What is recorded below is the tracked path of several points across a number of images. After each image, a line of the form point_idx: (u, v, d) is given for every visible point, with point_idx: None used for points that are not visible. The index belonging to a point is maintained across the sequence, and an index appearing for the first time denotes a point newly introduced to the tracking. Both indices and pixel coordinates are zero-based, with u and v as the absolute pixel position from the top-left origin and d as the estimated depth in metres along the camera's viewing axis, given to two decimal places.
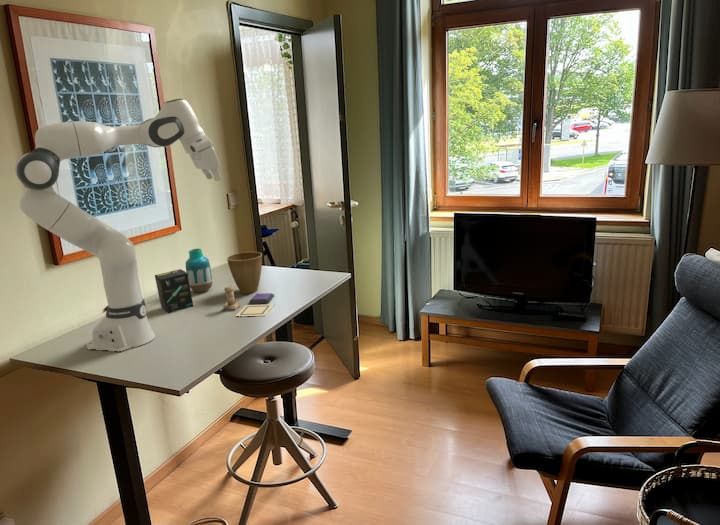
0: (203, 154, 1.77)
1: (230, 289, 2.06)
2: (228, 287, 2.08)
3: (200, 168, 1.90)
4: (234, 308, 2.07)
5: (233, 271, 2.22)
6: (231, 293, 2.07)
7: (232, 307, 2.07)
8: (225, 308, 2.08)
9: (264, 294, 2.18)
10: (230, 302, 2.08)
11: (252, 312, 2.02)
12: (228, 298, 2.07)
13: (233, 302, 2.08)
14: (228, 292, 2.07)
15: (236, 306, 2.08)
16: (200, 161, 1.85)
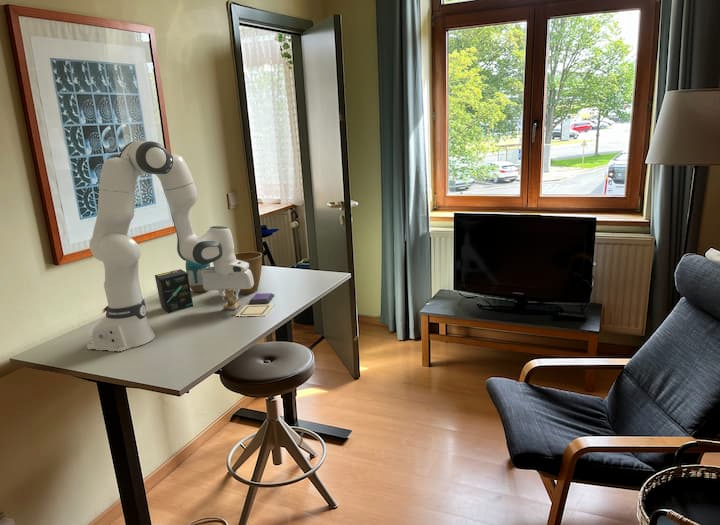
0: (247, 274, 2.03)
1: None
2: None
3: (218, 289, 2.07)
4: (234, 308, 2.07)
5: None
6: (231, 293, 2.07)
7: (232, 307, 2.07)
8: (225, 308, 2.08)
9: (264, 294, 2.18)
10: (230, 302, 2.08)
11: (252, 312, 2.02)
12: (228, 298, 2.07)
13: (233, 302, 2.08)
14: (228, 292, 2.07)
15: (236, 306, 2.08)
16: (229, 281, 2.05)
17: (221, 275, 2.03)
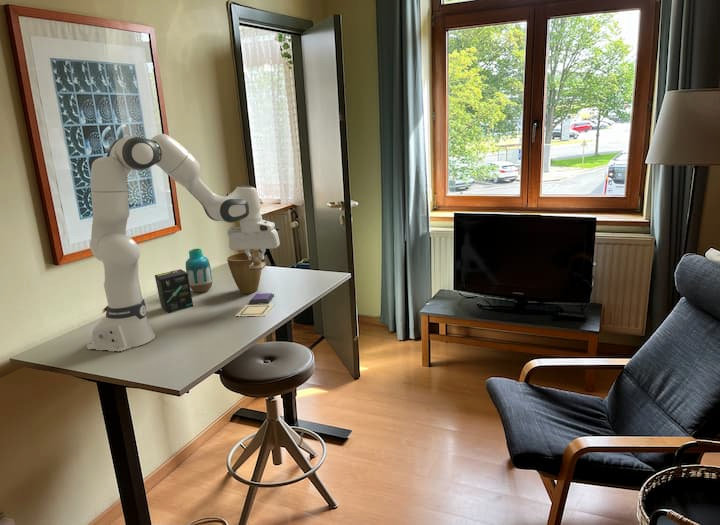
0: (274, 233, 2.06)
1: None
2: None
3: (244, 249, 2.09)
4: (260, 267, 2.10)
5: (233, 271, 2.22)
6: (257, 253, 2.10)
7: (258, 266, 2.10)
8: (251, 267, 2.10)
9: (264, 294, 2.18)
10: (256, 262, 2.10)
11: (252, 312, 2.02)
12: (254, 258, 2.10)
13: (259, 262, 2.11)
14: (254, 251, 2.09)
15: (262, 266, 2.11)
16: (255, 241, 2.07)
17: (248, 234, 2.06)
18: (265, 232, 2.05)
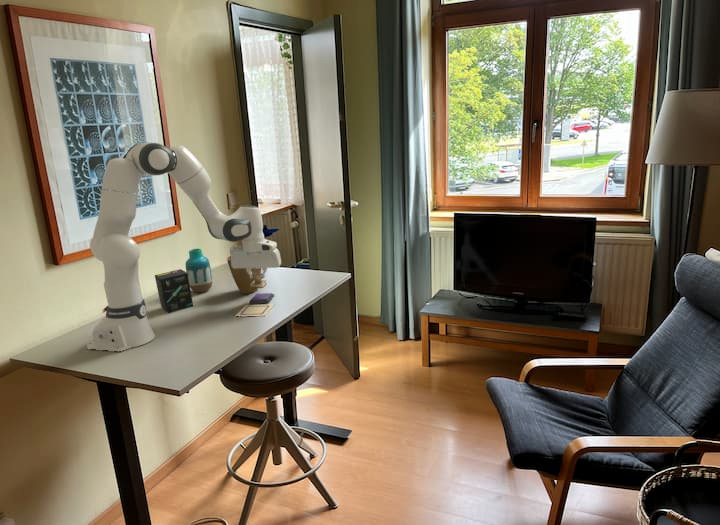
0: (276, 253, 2.07)
1: None
2: None
3: (246, 267, 2.11)
4: (261, 286, 2.11)
5: (233, 271, 2.22)
6: (258, 271, 2.11)
7: (259, 285, 2.11)
8: (252, 286, 2.12)
9: (264, 294, 2.18)
10: (257, 280, 2.12)
11: (252, 312, 2.02)
12: (255, 276, 2.12)
13: (260, 280, 2.13)
14: (256, 270, 2.11)
15: (263, 284, 2.12)
16: (257, 260, 2.09)
17: (250, 253, 2.08)
18: (267, 251, 2.07)
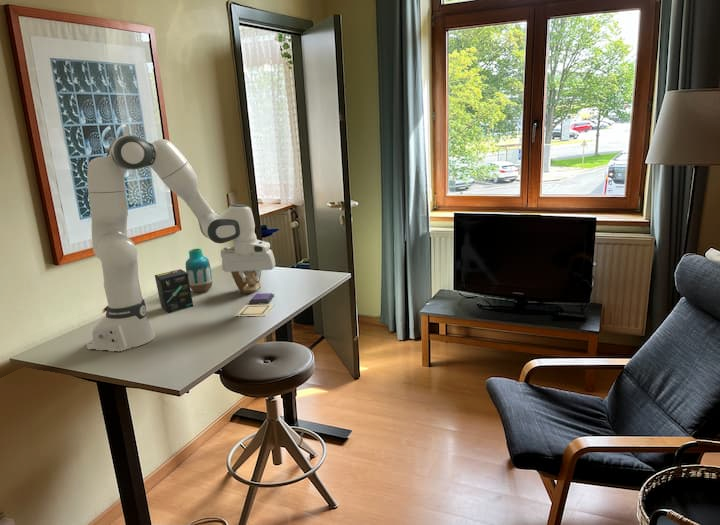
0: (269, 254, 1.95)
1: None
2: None
3: (238, 270, 1.99)
4: (255, 289, 2.00)
5: None
6: (252, 274, 2.00)
7: (253, 288, 1.99)
8: (245, 289, 2.00)
9: (264, 294, 2.18)
10: (251, 283, 2.00)
11: (252, 312, 2.02)
12: (249, 279, 2.00)
13: (254, 283, 2.01)
14: (249, 273, 1.99)
15: (257, 287, 2.00)
16: (249, 262, 1.97)
17: (242, 255, 1.96)
18: (260, 253, 1.95)
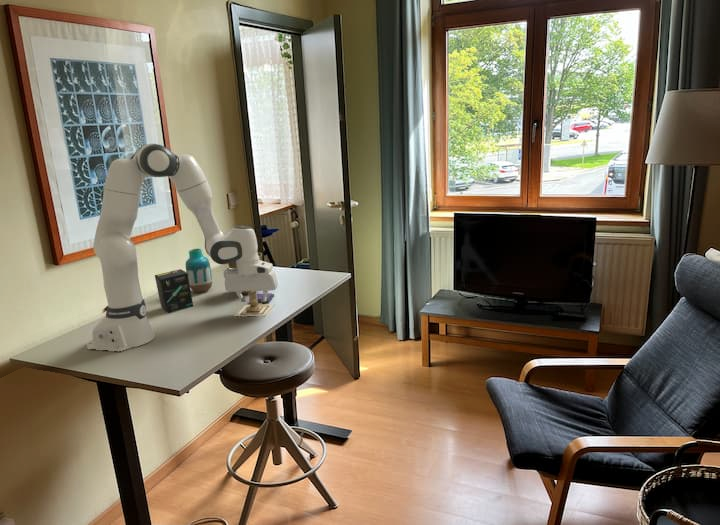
0: (271, 275, 1.98)
1: (253, 291, 2.01)
2: None
3: (241, 290, 2.01)
4: (257, 310, 2.02)
5: None
6: (254, 295, 2.02)
7: (255, 309, 2.02)
8: (248, 310, 2.02)
9: None
10: (253, 304, 2.02)
11: None
12: (251, 300, 2.02)
13: (256, 304, 2.03)
14: (251, 294, 2.01)
15: (259, 308, 2.03)
16: (252, 283, 1.99)
17: (244, 276, 1.98)
18: (262, 274, 1.97)
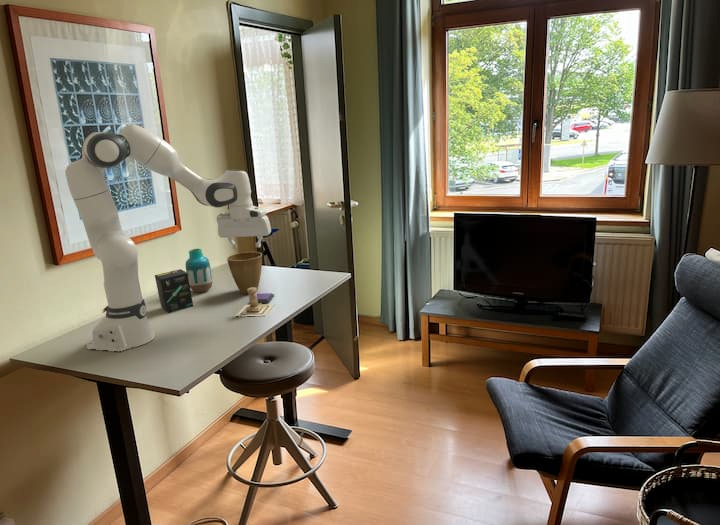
0: (265, 220, 1.95)
1: (253, 291, 2.01)
2: (251, 288, 2.02)
3: (233, 236, 1.99)
4: (257, 310, 2.02)
5: (233, 271, 2.22)
6: (254, 295, 2.02)
7: (255, 309, 2.02)
8: (248, 310, 2.02)
9: (264, 294, 2.18)
10: (253, 304, 2.02)
11: None
12: (251, 300, 2.02)
13: (256, 304, 2.03)
14: (251, 294, 2.01)
15: (259, 308, 2.03)
16: (245, 228, 1.97)
17: (237, 221, 1.96)
18: (255, 218, 1.95)
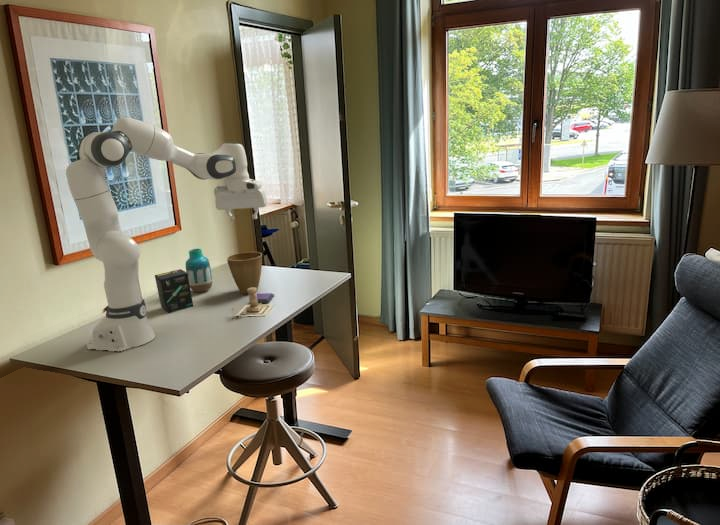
0: (261, 191, 2.02)
1: (253, 291, 2.01)
2: (251, 288, 2.02)
3: (231, 208, 2.05)
4: (257, 310, 2.02)
5: (233, 271, 2.22)
6: (254, 295, 2.02)
7: (255, 309, 2.02)
8: (248, 310, 2.02)
9: (264, 294, 2.18)
10: (253, 304, 2.02)
11: None
12: (251, 300, 2.02)
13: (256, 304, 2.03)
14: (251, 294, 2.01)
15: (259, 308, 2.03)
16: (242, 200, 2.03)
17: (234, 193, 2.02)
18: (252, 190, 2.01)
